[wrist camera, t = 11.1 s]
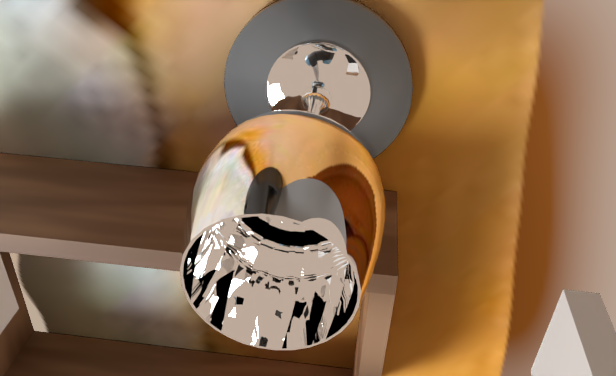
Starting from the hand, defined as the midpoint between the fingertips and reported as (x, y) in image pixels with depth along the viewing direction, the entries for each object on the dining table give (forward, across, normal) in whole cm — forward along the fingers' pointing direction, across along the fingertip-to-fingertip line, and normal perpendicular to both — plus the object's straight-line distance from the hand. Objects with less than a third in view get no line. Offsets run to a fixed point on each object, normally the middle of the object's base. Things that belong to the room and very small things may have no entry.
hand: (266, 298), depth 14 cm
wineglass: (+13, 0, -1) cm, 13 cm away
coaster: (+13, 0, -1) cm, 13 cm away
